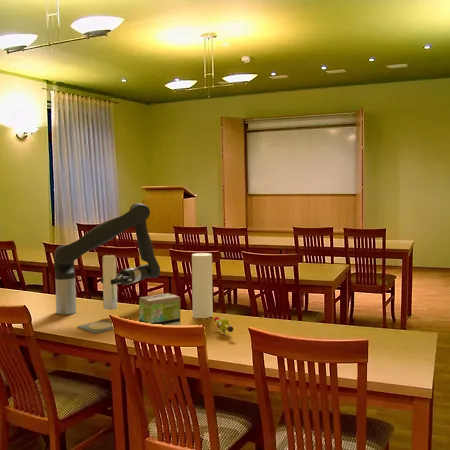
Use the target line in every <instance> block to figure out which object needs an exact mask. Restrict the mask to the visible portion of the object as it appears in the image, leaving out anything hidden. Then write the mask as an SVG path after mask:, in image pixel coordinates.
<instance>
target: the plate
mask: <svg viewBox="0 0 450 450" xmlns="http://www.w3.org/2000/svg"><path fill="white" fill-rule="evenodd" d="M111 322H112V321H109V320H107V319H106V320H105V319H103V320H99V321H95V322H91V323H86V324H82V325H78V326H77V329H80V330H83V331H86V332H89V333H92V334H94V335H95V334H100V333H104V332H108V330H109V331H111V329H113V326H112V323H111ZM113 330H114V329H113Z"/></svg>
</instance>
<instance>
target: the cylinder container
mask: <svg viewBox="0 0 450 450" xmlns="http://www.w3.org/2000/svg"><path fill="white" fill-rule="evenodd" d="M191 281H192V282H191V285H192V286H191V287H192V294H191V295H192V318H193V317H194V319H196V318H208V317H211V316H212V315H214V314H213V313H214V311H213V307H214V306H213V304H214V303H213V254H212V253H209V252H208V253H207V252H200V253H199V252H196V253H192V254H191ZM208 319H209V318H208Z"/></svg>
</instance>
